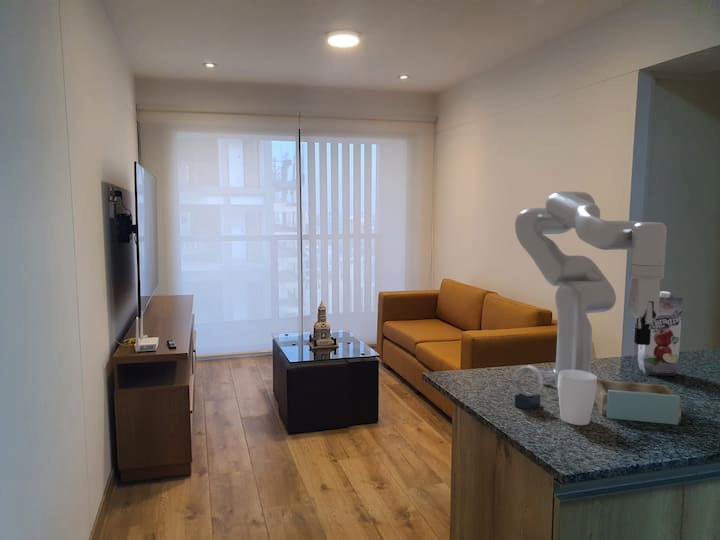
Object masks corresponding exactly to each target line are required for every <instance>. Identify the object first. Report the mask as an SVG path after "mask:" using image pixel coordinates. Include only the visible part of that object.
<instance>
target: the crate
mask: <svg viewBox="0 0 720 540" xmlns="http://www.w3.org/2000/svg"><path fill="white" fill-rule="evenodd" d="M608 390H619V391H631V392H643V393H656V394H668V395H677V394H675V392H674V391H673V390H671V388H670V387H669V386H668V385H667V384H659V383H658V384H657V383H644V382H643V383H642V382H641V383H640V382H632V381H630V382H629V381H617V380H605V379H604V380H603V379H597V391H596V396H595V400H594V404H595V406H596V408H597V409H598V411H599V414H600V415H601V417H603V416H604V417H606V413H607V396H608ZM682 407H683V401H682V399H681V398H680V406H679V419H678V424H679V423H680V424H681V421H682V419H681V418H682Z"/></svg>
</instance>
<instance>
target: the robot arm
mask: <svg viewBox="0 0 720 540" xmlns="http://www.w3.org/2000/svg"><path fill="white" fill-rule="evenodd" d="M514 223H515V224H514V228H515V235H516V237H517V238H516V239H517V241H518V242H519V244H520V245H521V247H522V248H523V249H524V250H525V251H526V253H527V254H528V255H529V257H531V259H532V260H533V262H534V264H535V265H536V267H537V268H538V270H539V272H541V274H542V276H543V277H544V278H545V280H546V281H547V283H548V284H549V285H550V286H553V287H558V288H557V290H556V291H555V296H554V299H555V306H556V313H557V329H556V332H557V333H556V334H557V335H556V337H557V339H556V353H555V354H556V357H555V367H553V368H552V370H541V369H539V370H540V372H541V373H542V375H543V380H544V379H545V380H546V379H547V380H549V382H548V383H549V385H550V386H551V387H552V388H553V389H555V390H558V377H559V372H560V371H562V370H581V371H586V372H590V373H591V357H592V341H593V329H592V325H591V322H590V320H589V318H588V315H587V314H597V313H604V312H605V313H606V312H608V311H610V310H612V308H614V306H615V304H616V301H617V295H616V294H617V293H616V291H615V289H614V287H613V286H612V284H611V283H610V281H609V279H608V278H607V277H606V276H605V274H604V273H603V272H602V270H601V269H600V268H599V267H598V266H597V264H596V263H595V261H593V260H592V259H591V258H589V257H587V256H585V255H568V254H565V253H564V252H563V251H562V250H561V249H560V248H559V246H558V244H557V243H556V242H554V241H553V239H551V238H549V237H548V236H546V235H559V234H561V235H562V234H565V233H567V232H569V231H570V230H572V229H575V232H576V235H577V237H578V238H579V239H580V240H581V241H583V242H584V243H587V244H588V245H590V246H592V247H594V248H597V249H598V250H599V249H600V250H603V251H613V250H627V251H628V250H630V259H629V260H630V262H629V274H628V275H629V278H631V280H630V286H629V295H628V302H627V304H628V305H627V312H628V313H629V314H630V315H631V316H633V317H634V318H635V319H634V320H635V323H634V341H633V342H634V343H635V344H636V345H638V346H639V345H649V344H650V334H651V325H652V318H653V319H656V318H657V317H658V313H659V299H660V292H661V289H660V288H661V287H660V286H661V285H660V284H661V282H660V280H663V279H664V276H665V261H666V245H667V244H666V243H667V234H668V231H667V230H668V228H667V226H666V224H665V223H664V222H655V221H637V220H605V219H602V218H601V211H600V207H599V206H598V205H596V202H595V198H593V197H592V195H591V194H589V193H588V192H584V191H567V190H566V191H563V190H562V191H556V192H554V193H552V194H551V195H549V197H548V198H547V199H546V202H545V207H530V208H526V209H523V210H522V211H519V213H518V214H517V216H516V218H515V222H514Z"/></svg>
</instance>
